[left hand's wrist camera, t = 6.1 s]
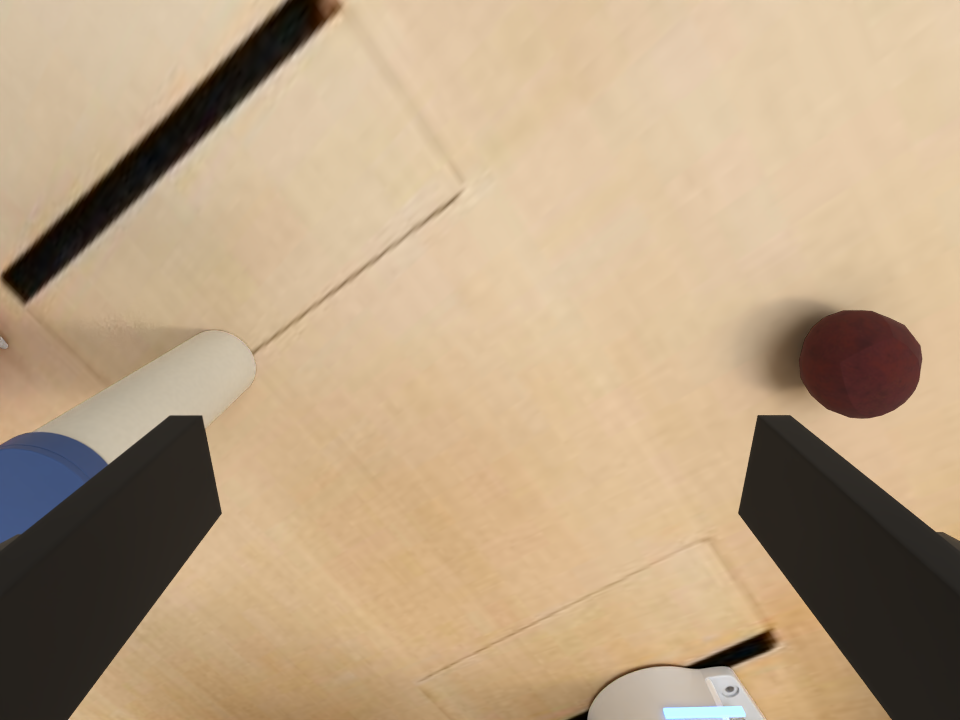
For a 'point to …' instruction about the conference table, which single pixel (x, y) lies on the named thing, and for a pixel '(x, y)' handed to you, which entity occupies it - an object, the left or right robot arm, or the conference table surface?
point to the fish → (3, 343)
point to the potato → (860, 363)
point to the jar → (161, 394)
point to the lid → (40, 477)
